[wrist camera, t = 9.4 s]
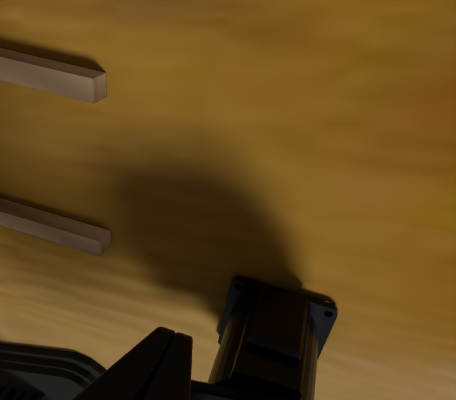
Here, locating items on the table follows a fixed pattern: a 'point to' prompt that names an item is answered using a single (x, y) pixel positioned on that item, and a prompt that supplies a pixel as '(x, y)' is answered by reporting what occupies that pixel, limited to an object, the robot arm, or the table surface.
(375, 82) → the table surface
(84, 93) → the brown u-shaped frame
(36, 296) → the table surface
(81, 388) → the award
